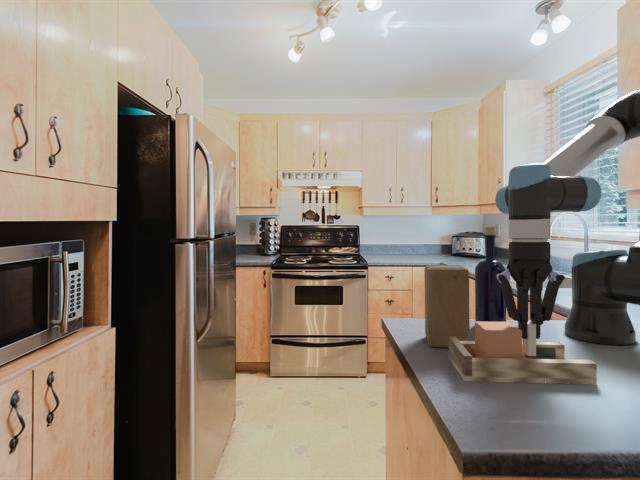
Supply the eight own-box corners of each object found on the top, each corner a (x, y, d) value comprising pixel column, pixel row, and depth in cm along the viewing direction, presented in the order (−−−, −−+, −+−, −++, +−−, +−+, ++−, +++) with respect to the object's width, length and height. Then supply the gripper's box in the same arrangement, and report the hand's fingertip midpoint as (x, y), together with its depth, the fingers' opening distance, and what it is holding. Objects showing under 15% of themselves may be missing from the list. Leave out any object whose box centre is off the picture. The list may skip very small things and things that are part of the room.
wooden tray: (559, 359, 82) (559, 337, 82) (596, 384, 69) (596, 358, 69) (448, 357, 85) (448, 336, 84) (464, 381, 72) (464, 356, 72)
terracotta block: (508, 357, 80) (508, 321, 80) (522, 370, 73) (522, 330, 73) (475, 357, 81) (474, 321, 81) (485, 369, 74) (485, 330, 74)
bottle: (514, 331, 104) (513, 226, 103) (481, 332, 104) (480, 227, 103) (498, 323, 113) (498, 226, 112) (468, 323, 114) (467, 227, 113)
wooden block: (470, 349, 90) (469, 268, 89) (428, 347, 92) (427, 268, 91) (463, 337, 100) (462, 264, 99) (425, 336, 102) (424, 264, 101)
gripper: (553, 239, 79) (553, 348, 79) (489, 240, 80) (490, 347, 81) (573, 240, 71) (573, 360, 72) (502, 241, 73) (503, 359, 73)
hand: (529, 353), depth 76 cm, fingers closed
